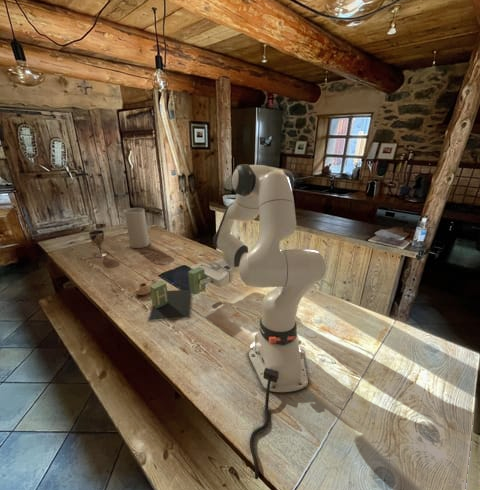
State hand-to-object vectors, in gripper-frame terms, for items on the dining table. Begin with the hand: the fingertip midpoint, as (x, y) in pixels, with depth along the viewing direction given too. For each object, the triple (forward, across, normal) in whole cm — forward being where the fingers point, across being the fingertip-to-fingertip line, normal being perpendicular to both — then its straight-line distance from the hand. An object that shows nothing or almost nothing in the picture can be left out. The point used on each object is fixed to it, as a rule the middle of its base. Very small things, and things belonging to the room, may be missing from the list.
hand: (195, 280), depth 113 cm
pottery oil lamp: (+9, -27, +13) cm, 31 cm away
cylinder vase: (-19, -87, +13) cm, 90 cm away
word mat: (+7, -10, +13) cm, 18 cm away
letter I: (-1, 0, +6) cm, 6 cm away
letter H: (+11, -13, +12) cm, 21 cm away
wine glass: (+6, -90, +13) cm, 91 cm away
